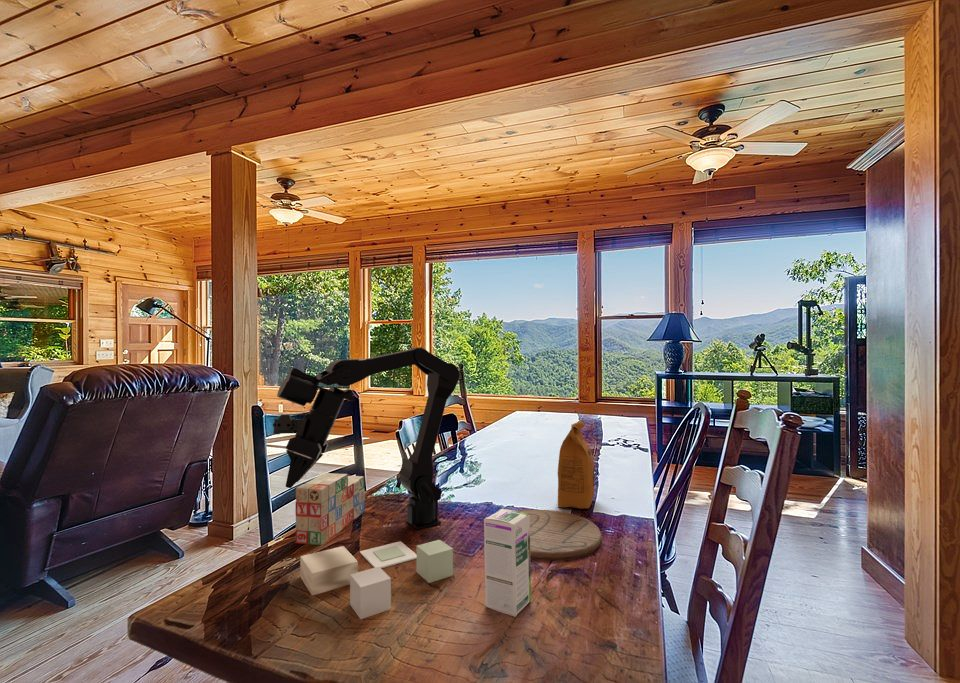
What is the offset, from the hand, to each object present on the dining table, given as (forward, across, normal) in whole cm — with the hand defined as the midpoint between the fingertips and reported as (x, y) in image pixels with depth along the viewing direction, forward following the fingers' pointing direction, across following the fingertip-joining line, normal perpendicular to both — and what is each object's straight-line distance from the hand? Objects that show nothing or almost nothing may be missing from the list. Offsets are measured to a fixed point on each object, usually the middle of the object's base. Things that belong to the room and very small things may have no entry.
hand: (291, 484), depth 96 cm
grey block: (+10, +23, +22) cm, 33 cm away
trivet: (-7, +3, +56) cm, 56 cm away
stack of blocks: (+9, -14, +12) cm, 20 cm away
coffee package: (-16, -15, +70) cm, 73 cm away
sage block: (+4, +15, +32) cm, 35 cm away
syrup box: (+2, +28, +42) cm, 50 cm away
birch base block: (+11, +12, +14) cm, 22 cm away
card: (+6, +5, +24) cm, 25 cm away
